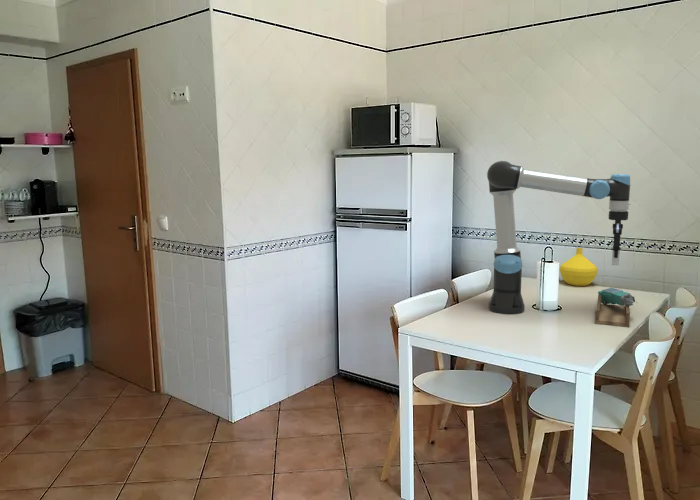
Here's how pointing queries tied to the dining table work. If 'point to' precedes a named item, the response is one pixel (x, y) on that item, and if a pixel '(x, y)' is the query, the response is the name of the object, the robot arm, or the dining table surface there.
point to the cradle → (612, 314)
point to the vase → (578, 270)
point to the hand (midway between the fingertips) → (615, 264)
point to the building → (616, 297)
